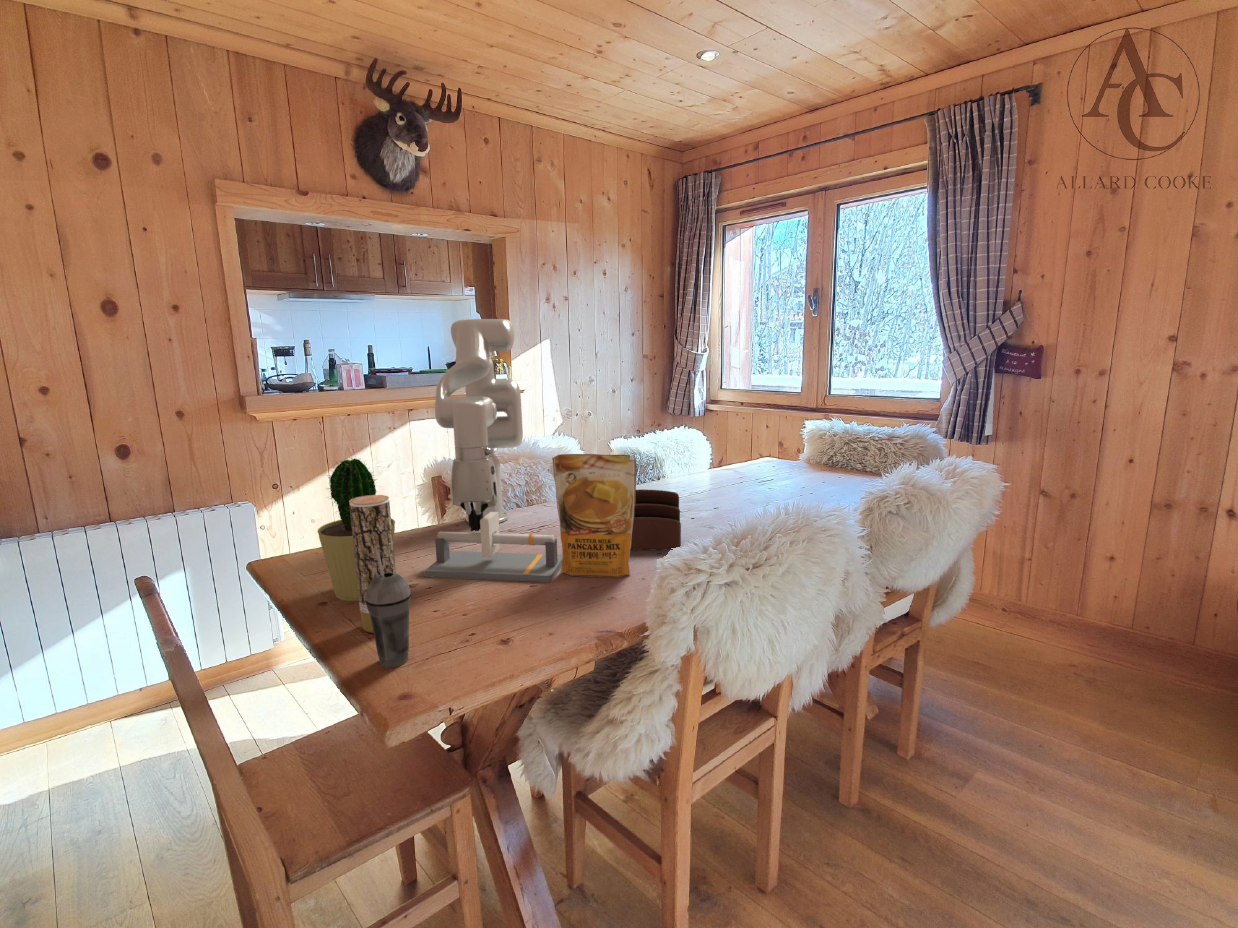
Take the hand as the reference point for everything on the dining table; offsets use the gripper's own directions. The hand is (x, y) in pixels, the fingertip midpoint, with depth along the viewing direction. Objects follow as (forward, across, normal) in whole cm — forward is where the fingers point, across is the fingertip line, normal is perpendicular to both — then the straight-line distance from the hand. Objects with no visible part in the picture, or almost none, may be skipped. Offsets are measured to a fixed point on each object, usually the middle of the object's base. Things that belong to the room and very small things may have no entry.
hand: (476, 529), depth 145 cm
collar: (+6, -3, 0) cm, 7 cm away
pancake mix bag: (+10, -29, 0) cm, 30 cm away
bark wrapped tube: (+10, +7, +32) cm, 34 cm away
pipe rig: (+10, -5, 0) cm, 11 cm away
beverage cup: (+10, -2, +44) cm, 45 cm away
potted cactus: (+10, +20, +16) cm, 28 cm away
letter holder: (+10, -37, -22) cm, 44 cm away
